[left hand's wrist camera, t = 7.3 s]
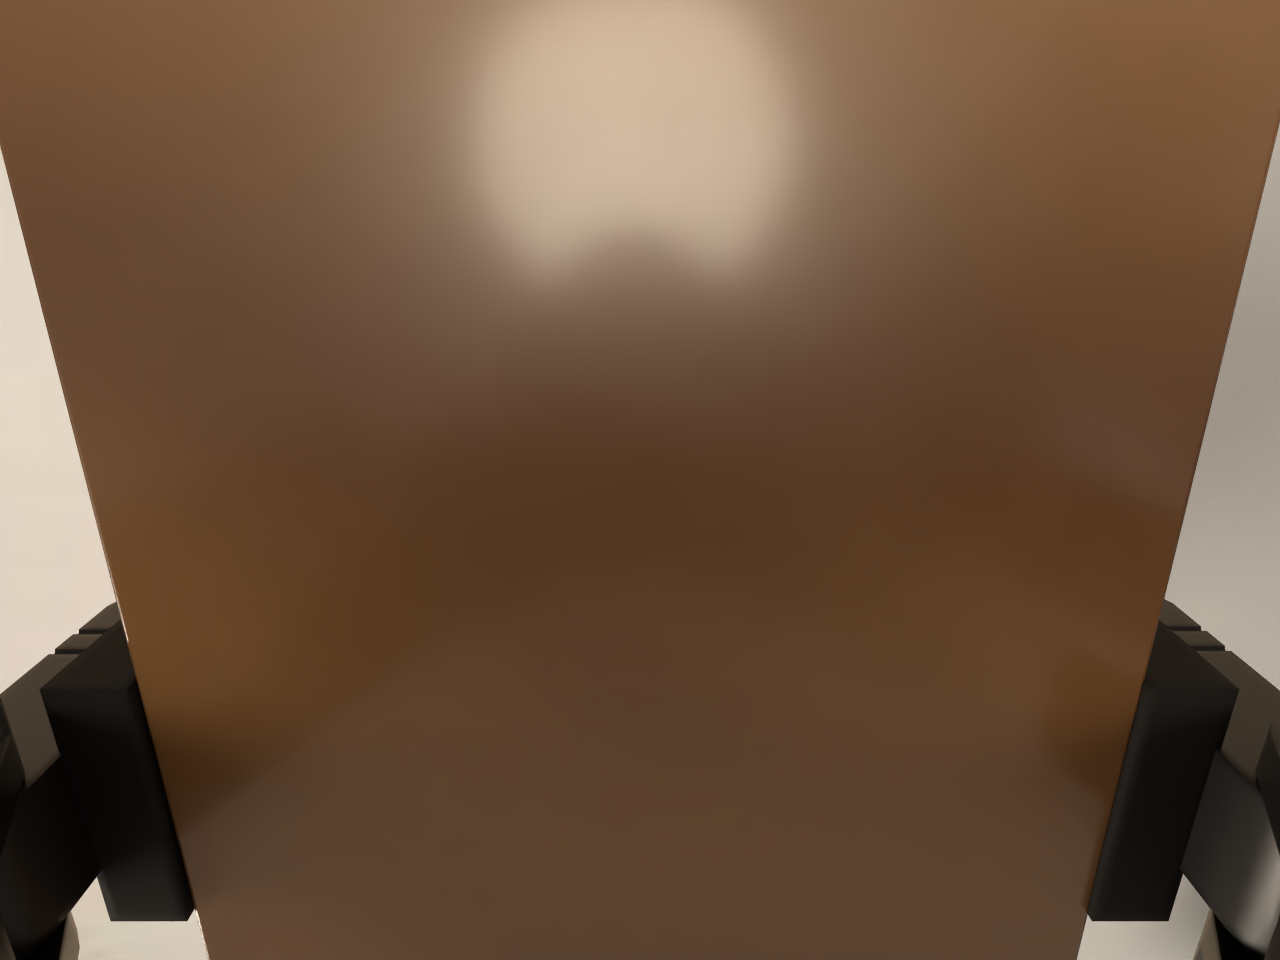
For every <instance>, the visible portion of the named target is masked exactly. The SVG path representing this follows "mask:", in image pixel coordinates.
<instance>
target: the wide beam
mask: <svg viewBox="0 0 1280 960" xmlns="http://www.w3.org/2000/svg"><path fill="white" fill-rule="evenodd" d="M1279 123H1280V0H0V147H1V151H2V154H3V158H4V162H5V166H6V170H7V174H8V178H9V182H10V186H11V190H12V194H13V198H14V201H15V205H16V209H17V213H18V217H19V221H20V225H21V229H22V233H23V237H24V241H25V245H26V248H27V252H28V256H29V260H30V264H31V268H32V272H33V276H34V280H35V284H36V288H37V292H38V295H39V299H40V303H41V307H42V311H43V315H44V319H45V323H46V327H47V331H48V335H49V339H50V342H51V346H52V350H53V354H54V358H55V362H56V366H57V370H58V374H59V378H60V382H61V386H62V389H63V393H64V397H65V401H66V405H67V409H68V413H69V417H70V421H71V425H72V429H73V433H74V436H75V440H76V444H77V448H78V452H79V456H80V460H81V464H82V468H83V472H84V476H85V480H86V483H87V487H88V491H89V495H90V499H91V503H92V507H93V511H94V515H95V519H96V523H97V527H98V530H99V534H100V538H101V542H102V546H103V550H104V554H105V558H106V562H107V566H108V570H109V574H110V577H111V581H112V585H113V589H114V593H115V597H116V601H117V605H118V609H119V613H120V617H121V621H122V624H123V628H124V632H125V636H126V640H127V644H128V648H129V652H130V656H131V660H132V664H133V668H134V671H135V675H136V679H137V683H138V687H139V691H140V695H141V699H142V703H143V707H144V711H145V715H146V718H147V722H148V726H149V730H150V734H151V738H152V742H153V746H154V750H155V754H156V758H157V762H158V765H159V769H160V773H161V777H162V781H163V785H164V789H165V793H166V797H167V801H168V805H169V809H170V812H171V816H172V820H173V824H174V828H175V832H176V836H177V840H178V844H179V848H180V852H181V855H182V859H183V863H184V867H185V871H186V875H187V879H188V883H189V887H190V891H191V895H192V899H193V902H194V906H195V910H196V914H197V918H198V922H199V926H200V930H201V934H202V938H203V942H204V946H205V949H206V953H207V957H208V960H1077V956H1078V951H1079V947H1080V943H1081V939H1082V935H1083V931H1084V927H1085V923H1086V918H1087V908H1088V904H1089V900H1090V896H1091V892H1092V888H1093V884H1094V880H1095V876H1096V872H1097V868H1098V864H1099V860H1100V855H1101V851H1102V847H1103V843H1104V839H1105V835H1106V831H1107V827H1108V823H1109V819H1110V815H1111V811H1112V807H1113V803H1114V799H1115V795H1116V791H1117V787H1118V783H1119V779H1120V775H1121V770H1122V766H1123V762H1124V758H1125V754H1126V750H1127V746H1128V742H1129V738H1130V734H1131V730H1132V726H1133V722H1134V718H1135V714H1136V710H1137V706H1138V702H1139V698H1140V694H1141V690H1142V685H1143V681H1144V680H1145V675H1146V671H1147V667H1148V663H1149V659H1150V655H1151V651H1152V647H1153V642H1154V638H1155V634H1156V630H1157V626H1158V622H1159V618H1160V614H1161V610H1162V605H1163V601H1164V597H1165V593H1166V589H1167V585H1168V581H1169V577H1170V572H1171V568H1172V564H1173V560H1174V556H1175V552H1176V548H1177V544H1178V540H1179V535H1180V531H1181V527H1182V523H1183V519H1184V515H1185V511H1186V507H1187V502H1188V498H1189V494H1190V490H1191V486H1192V482H1193V478H1194V474H1195V469H1196V465H1197V461H1198V457H1199V453H1200V449H1201V445H1202V441H1203V437H1204V432H1205V428H1206V424H1207V420H1208V416H1209V412H1210V408H1211V404H1212V399H1213V395H1214V391H1215V387H1216V383H1217V379H1218V375H1219V371H1220V366H1221V362H1222V358H1223V354H1224V350H1225V346H1226V342H1227V338H1228V334H1229V329H1230V325H1231V321H1232V317H1233V313H1234V309H1235V305H1236V301H1237V296H1238V292H1239V288H1240V284H1241V280H1242V276H1243V272H1244V268H1245V264H1246V259H1247V255H1248V251H1249V247H1250V243H1251V239H1252V235H1253V231H1254V226H1255V222H1256V218H1257V214H1258V210H1259V206H1260V202H1261V198H1262V193H1263V189H1264V185H1265V181H1266V177H1267V173H1268V169H1269V165H1270V161H1271V156H1272V152H1273V148H1274V144H1275V140H1276V136H1277V132H1278V128H1279Z"/></svg>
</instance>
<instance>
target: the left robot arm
mask: <svg viewBox="0 0 1280 960" xmlns="http://www.w3.org/2000/svg"><path fill="white" fill-rule="evenodd" d="M1183 874H1184V875H1185V876H1186V877H1187V879H1188V880H1189V881H1190V883H1191V884H1192V885H1193V886H1194V888H1195V889H1196V890H1197V892H1198V893H1199V894H1200V896H1201V897H1202V898H1203V899H1204V901H1205V902H1206V903H1207V905H1208V906H1209V907H1210V910H1209V913H1208V916H1207V919H1206V922H1205V925H1204V928H1203V931H1202V934H1201V937H1200V941H1199V944H1198V947H1197V950H1196V953H1195V956H1194V959H1193V960H1280V691H1279V690H1278V689H1277V688H1276V687H1275V686H1273V685H1272V684H1271V683H1270V682H1268V681H1267V680H1266V679H1265V678H1263V677H1262V676H1261V675H1260V674H1259V673H1257V672H1256V671H1255V670H1254V669H1252V668H1251V667H1250V666H1249V665H1248V664H1246V663H1245V662H1244V661H1243V660H1241V659H1240V658H1239V657H1238V656H1236V655H1235V654H1234V653H1233V652H1232V651H1225V646H1224V645H1223V644H1222V643H1221V642H1219V641H1218V640H1217V639H1216V638H1214V637H1213V636H1212V635H1211V634H1210V633H1208V632H1207V631H1201V626H1200V625H1198V624H1197V623H1196V622H1195V621H1194V620H1192V619H1191V618H1190V617H1189V616H1187V615H1186V614H1185V613H1184V612H1183V611H1181V610H1180V609H1179V608H1178V607H1176V606H1175V605H1174V604H1173V603H1171V602H1169V601H1167V600H1165V599H1164V601H1163V605H1162V610H1161V614H1160V618H1159V622H1158V626H1157V630H1156V634H1155V638H1154V642H1153V647H1152V651H1151V655H1150V659H1149V663H1148V667H1147V671H1146V675H1145V680H1144V681H1143V685H1142V690H1141V694H1140V698H1139V702H1138V706H1137V710H1136V714H1135V718H1134V722H1133V726H1132V730H1131V734H1130V738H1129V742H1128V746H1127V750H1126V754H1125V758H1124V762H1123V766H1122V770H1121V775H1120V779H1119V783H1118V787H1117V791H1116V795H1115V799H1114V803H1113V807H1112V811H1111V815H1110V819H1109V823H1108V827H1107V831H1106V835H1105V839H1104V843H1103V847H1102V851H1101V855H1100V860H1099V864H1098V868H1097V872H1096V876H1095V880H1094V884H1093V888H1092V892H1091V896H1090V900H1089V904H1088V908H1087V914H1088V915H1089V917H1090V919H1091V920H1092V921H1169V917H1170V914H1171V911H1172V908H1173V904H1174V901H1175V898H1176V895H1177V891H1178V888H1179V885H1180V882H1181V878H1182V875H1183ZM96 877H97V878H98V881H99V885H100V888H101V891H102V894H103V898H104V901H105V904H106V907H107V911H108V914H109V917H110V920H111V921H187V920H188V919H189V917H190V915H191V914H192V912H193V910H194V909H195V906H194V902H193V899H192V895H191V891H190V887H189V883H188V879H187V875H186V871H185V867H184V863H183V859H182V855H181V852H180V848H179V844H178V840H177V836H176V832H175V828H174V824H173V820H172V816H171V812H170V809H169V805H168V801H167V797H166V793H165V789H164V785H163V781H162V777H161V773H160V769H159V765H158V762H157V758H156V754H155V750H154V746H153V742H152V738H151V734H150V730H149V726H148V722H147V718H146V715H145V711H144V707H143V703H142V699H141V695H140V691H139V687H138V683H137V679H136V675H135V671H134V668H133V664H132V660H131V656H130V652H129V648H128V644H127V640H126V636H125V632H124V628H123V624H122V621H121V617H120V613H119V609H118V605H117V602H115V603H113V604H111V605H109V606H107V607H106V608H105V609H103V610H102V611H101V612H100V613H99V614H97V615H96V616H95V617H94V618H92V619H91V620H90V621H89V622H88V623H86V624H85V625H84V626H83V627H82V628H80V629H79V634H73V635H72V636H71V637H69V638H68V639H67V640H66V641H65V642H63V643H62V644H61V645H60V646H58V647H57V648H56V649H55V654H49V655H47V656H46V657H45V658H44V659H43V660H41V661H40V662H39V663H38V664H37V665H35V666H34V667H33V668H32V669H30V670H29V671H28V672H27V673H26V674H24V675H23V676H22V677H21V678H20V679H18V680H17V681H16V682H15V683H13V684H12V685H11V686H10V687H9V688H7V689H6V690H5V691H4V692H2V693H1V694H0V960H78V954H79V948H80V946H79V940H78V933H77V928H76V925H75V922H74V919H73V916H72V913H71V910H72V908H73V907H74V906H75V904H76V903H77V902H78V900H79V899H80V898H81V897H82V895H83V894H84V893H85V891H86V890H87V889H88V887H89V886H90V885H91V883H92V882H93V881H94V880H95V878H96Z"/></svg>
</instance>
